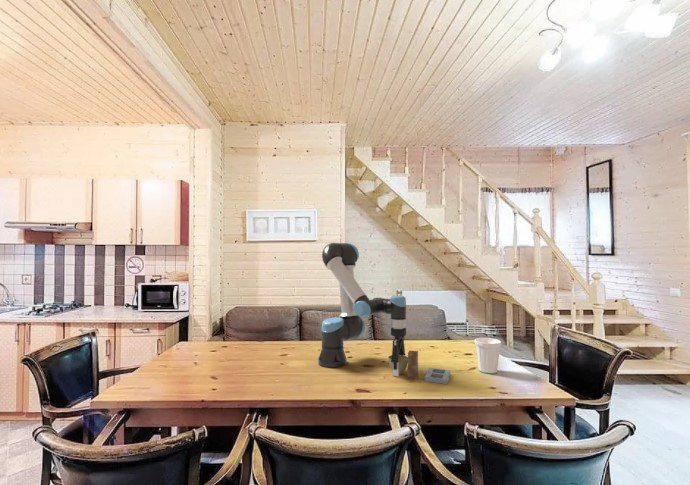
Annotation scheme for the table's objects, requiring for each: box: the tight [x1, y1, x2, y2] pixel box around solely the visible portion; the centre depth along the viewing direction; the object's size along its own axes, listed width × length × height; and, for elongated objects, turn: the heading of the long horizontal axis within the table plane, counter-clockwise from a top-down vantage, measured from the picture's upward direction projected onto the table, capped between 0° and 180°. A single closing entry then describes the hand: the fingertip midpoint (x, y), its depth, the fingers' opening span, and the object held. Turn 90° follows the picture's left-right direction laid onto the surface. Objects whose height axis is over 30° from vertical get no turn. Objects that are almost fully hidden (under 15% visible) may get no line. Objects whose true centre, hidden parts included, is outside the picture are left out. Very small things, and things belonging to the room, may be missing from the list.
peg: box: [407, 350, 419, 380], centre depth 170 cm, size 4×4×12 cm
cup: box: [474, 337, 502, 375], centre depth 179 cm, size 12×12×15 cm
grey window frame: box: [424, 367, 451, 385], centre depth 169 cm, size 10×14×2 cm
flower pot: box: [387, 354, 408, 375], centre depth 176 cm, size 10×10×7 cm
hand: (398, 372), depth 176 cm, fingers open, 11 cm apart
